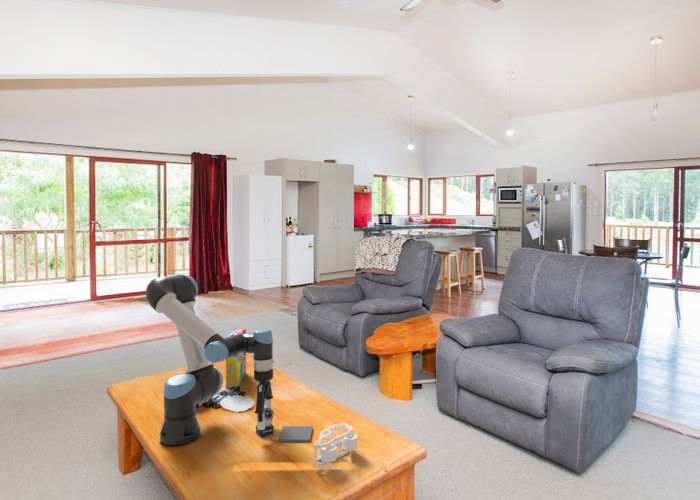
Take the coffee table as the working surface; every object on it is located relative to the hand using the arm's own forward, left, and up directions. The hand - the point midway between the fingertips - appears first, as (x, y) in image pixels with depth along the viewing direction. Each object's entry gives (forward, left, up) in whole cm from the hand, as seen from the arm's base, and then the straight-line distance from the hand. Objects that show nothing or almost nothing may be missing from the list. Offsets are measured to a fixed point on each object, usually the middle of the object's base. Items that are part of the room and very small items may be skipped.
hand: (264, 422), depth 182 cm
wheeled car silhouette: (+28, -17, -5) cm, 33 cm away
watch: (0, 0, -5) cm, 5 cm away
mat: (+13, -2, -4) cm, 14 cm away
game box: (-27, +59, -5) cm, 65 cm away
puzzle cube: (-38, +32, -5) cm, 50 cm away
